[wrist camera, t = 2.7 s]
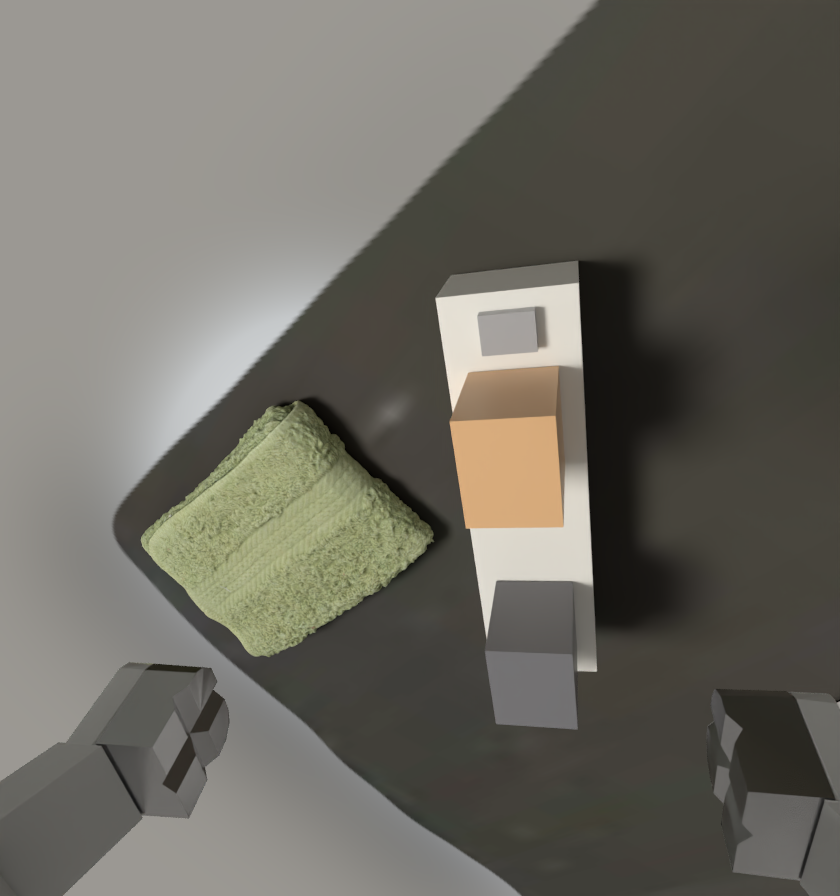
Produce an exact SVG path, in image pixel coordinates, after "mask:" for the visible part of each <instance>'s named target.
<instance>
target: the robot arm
mask: <svg viewBox="0 0 840 896" xmlns="http://www.w3.org/2000/svg"><path fill="white" fill-rule="evenodd" d="M216 683H217V680H216V677H215V675H214V673H213V671H212V669H211V668H205V667H193V666H179V665H166V664H151V663H133V662H129V663H127V664H125V665H124V666H122V667H121V668H120V669H119V670H118V671H117V672H116V674H115V675H114V677H113V678H112V679H111V681H110V682H109V684H108V685H107V686H106V688H105V689H104V691H103V692H102V693H101V695H100V696H99V697H98V699H97V700H96V702H95V703H94V705H93V706H92V707H91V709H90V710H89V711H88V713H87V714H86V716H85V717H84V718H83V720H82V721H81V722H80V724H79V725H78V727H77V728H76V729H75V731H74V732H73V734H72V735H71V736H70V738H69V739H68V741H67V742H66V743H60V742H59V743H57V744H55V745H54V746H52V747H51V748H49V749H48V750H46V751H45V752H43V753H42V754H40V755H39V756H37V757H36V758H34V759H33V760H31V761H30V762H28V763H27V764H25V765H24V766H22V767H21V768H19V769H18V770H16V771H15V772H14V773H12V774H11V775H9V776H8V777H6V778H5V779H3V780H2V781H0V896H63V895H64V894H65V893H66V892H67V891H68V890H69V889H70V888H71V887H72V886H73V885H74V884H75V883H76V882H77V881H78V880H79V879H80V878H81V877H82V876H83V875H84V874H85V873H86V872H88V870H89V869H91V868H92V867H93V866H94V865H95V864H96V863H97V862H98V861H99V860H100V859H101V858H102V857H103V856H104V855H105V854H106V853H107V852H108V851H109V850H110V849H111V848H112V847H113V846H115V845H116V844H117V843H118V842H119V841H120V840H121V839H122V838H123V837H124V836H125V835H126V834H127V833H128V832H129V831H130V830H131V829H132V828H133V827H134V826H135V825H136V824H137V823H138V822H139V821H140V820H141V819H142V816H141V815H146V816H161V817H176V818H177V817H178V818H189V817H190V815H191V813H192V811H193V809H194V807H195V804H196V802H197V800H198V798H199V796H200V794H201V792H202V790H203V788H204V786H205V783H206V782H207V777H206V771H205V766H207V765H208V764H209V763H210V762H212V761H213V760H214V759H215V758H217V757H218V756H219V754H220V752H221V750H222V748H223V745H224V743H225V741H226V737H227V732H228V727H229V712H228V707H227V705H226V702H225V699H224V698H222V697H221V696H220V695H219V694H218V693H216V692H215V691H214V690H213V689H214V687H215V685H216ZM711 709H712V713H713V717H714V722H712V723H711V724H710V725H708V730H707V741H706V743H707V762H708V768H709V774H710V779H711V783H712V788H713V792H714V794H715V795H716V796H717V797H718V798H719V799H720V800H721V801H722V802H723V803H724V806H723V813H722V819H721V826H722V830H723V834H724V839H725V843H726V847H727V851H728V855H729V859H730V863H731V867H732V871H733V872H736V873H744V874H752V875H760V876H768V877H776V878H784V879H792V880H800V881H801V882H800V884H801V886H802V887H803V888H804V889H805V891H806V892H807V893H808V894H809V896H840V701H839V702H837V703H836V700H835V699H834V698H833V697H832V696H831V695H830V694H825V693H802V692H789V693H788V692H787V691H766V690H734V689H715V690H714V692H713V694H712V700H711Z"/></svg>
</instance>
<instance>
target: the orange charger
mask: <svg viewBox="0 0 840 896" xmlns="http://www.w3.org/2000/svg"><path fill="white" fill-rule="evenodd" d="M450 427H451V433H452V440H453V447H454V453H455V460H456V466H457V473H458V479H459V486H460V492H461V499H462V505H463V512H464V518H465V525H466V528H551V527H564V491H565V455H564V440H563V425H562V409H561V394H560V379H559V366H552V367H538V368H525V369H511V370H498V371H484V372H470V373H468V374H467V377H466V380H465V382H464V385H463V388H462V390H461V393H460V396H459V398H458V401H457V404H456V406H455V409H454V411H453V414H452V417H451V419H450Z"/></svg>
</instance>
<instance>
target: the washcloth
mask: <svg viewBox="0 0 840 896" xmlns="http://www.w3.org/2000/svg"><path fill="white" fill-rule="evenodd" d="M432 537H433V531H432V530H431V527H430V526H429V525H428V524H427V523H426V522H424V521H423V520H420V519H419V516H418V515H417V514H416V513H415V512H413V511H412V510H411V508H409V507H408V506H407V505H406V504H403V503H402V501H401V500H399V498H398V497H396V496H395V494H394V493H392V492H391V491H390V490H389V488H388V486H387V485H386V483H383V482H382V480H381V479H378V478H373V477H372V476H370V475H369V473H368V472H367V471H366V470H365V469H364V468H363V467H362V466H361V465H360V464H359V463H358V462H357V461H356V460H354V459H353V458H352V457H351V456H350V455H349V454H348V453H347V452H346V451H345V445H344V443H343V442H342V441H340V438H339V437H338V436H337V435H336V434H330V432H329V429H328V427H327V426H325V425H324V424H323V421H322V420H321V419H320V418H319V417H317V416H316V414H315V412H314V411H313V409H311V408H310V407H309V406H308V405H305V404H304V403H302V402H300V401H295V402H294V403H292V404H291V405H289V406H285V407H284V408H283V407H280V406H271V407H269V408H267V409H266V413H265V414H264V415H263V416H262V418H259V419H258V420H254V425H253V426H252V427H251V428H250V429H248V432H247V433H246V434H244V437H243V438H241V439H240V442H239V444H238V445H237V447H236V448H235V449H234V450H233V451H232V452H231V453H230V454H229V455H228V456H227V457H226V458H225V459H224V460H223V461H222V462H221V464H219V465H218V467H217V468H216V469H215V471H214V472H212V473H211V474H210V477H208V478H207V479H206V480H204V481H203V482H202V483H200V484H199V485H198V487H196V488H195V491H194V492H191V494H189V495H188V496H186V500H185V501H181V502H180V503H179V505H177V506H175V507H172V509H170V511H169V512H168V513H165V514H163V515H162V517H161V518H160V519H158V520H157V521H156V522H155V524H153V525H152V526H151V527H149V528H148V529H147V530H146V531H145V533H144V534H143V535H142V537H141V542H142V546H143V548H144V549H145V550H146V551H147V552H148V553H149V555H151V556H152V558H153V559H154V561H155V562H156V563H157V564H158V565H159V566H160V567H161V568H162V569H163V570H164V571H166V572H167V573H168V574H169V575H170V576H171V577H173V578H174V579H175V580H176V581H177V582H178V583H179V584H181V585H182V586H183V587H184V588H185V589H186V591H187V593H188V594H189V596H190V597H191V598H192V600H193V601H194V602H195V603H196V605H197V606H198V607H199V608H200V609H201V610H202V611H203V612H204V613H205V614H206V615H207V616H208V617H209V618H211V619H214V620H215V621H218V622H220V623H221V624H223V625H225V626H226V627H228V628H229V629H230V630H231V631H232V632H233V633H234V634H235V635H236V636H237V637H238V639H239V640H240V641H241V643H242V644H243V646H244V648H245V649H246V650H247V652H248V653H250V654H251V655H253V656H261V655H264V656H268V657H271V655H274V654H275V653H279V652H280V651H281V650H285V649H286V648H288V647H290V646H291V647H293V646H295V645H298V643H300V642H302V641H303V640H304V639H305V638H306V637H307V635H308V634H311V633H313V632H314V633H315V632H316V630H317V628H319V627H320V626H322V625H325V624H326V623H328V621H332V620H333V619H335V618H336V617H337V615H341V614H342V613H343V612H344V611H345V610H350V609H351V608H352V607H354V606H356V605H357V604H358V603H359V602H361V601H363V598H364V597H365V596H368V595H372V594H374V592H378V591H379V590H380V589H381V588H382V586H384V587H386V586H387V585H388V584H389V583H390V581H391V579H392V578H393V577H396V576H397V574H398V573H399V572H401V571H403V570H405V569H406V568H407V566H408V565H409V564H410V563H414V560H415V559H417V557H419V556H420V555H421V554H422V553H424V552H425V550H426V549H427V547H426V546H427V545H428V544H430V542H434V541H433V539H432Z"/></svg>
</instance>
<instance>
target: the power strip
mask: <svg viewBox="0 0 840 896" xmlns="http://www.w3.org/2000/svg"><path fill="white" fill-rule="evenodd" d="M436 304H437V311H438V318H439V324H440V331H441V338H442V344H443V351H444V358H445V364H446V371H447V377H448V384H449V391H450V397H451V404H452V411H454V409H455V406H456V404H457V401H458V398H459V396H460V393H461V390H462V388H463V385H464V382H465V380H466V377H467V374H468V373H470V372H484V371H498V370H511V369H525V368H538V367H552V366H559V379H560V394H561V409H562V425H563V440H564V455H565V491H564V527H551V528H470V531H471V537H472V544H473V551H474V557H475V564H476V571H477V577H478V584H479V591H480V597H481V604H482V610H483V617H484V624H485V630H486V637H487V635H488V629H489V622H490V616H491V610H492V604H493V598H494V591H495V585H496V581H519V582H573V593H574V608H575V624H576V639H577V671H594V672H597V660H596V633H595V610H594V588H593V567H592V546H591V525H590V503H589V482H588V461H587V439H586V418H585V397H584V376H583V354H582V333H581V312H580V291H579V269H578V261H571V262H562V263H553V264H544V265H536V266H527V267H518V268H509V269H501V270H492V271H483V272H474V273H466V274H457V275H451V276H450V277H449V279H448V280H447V282H446V283H445V285H444V286H443V288H442V289H441V291H440V292H439V294H438V295H437V297H436Z"/></svg>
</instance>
